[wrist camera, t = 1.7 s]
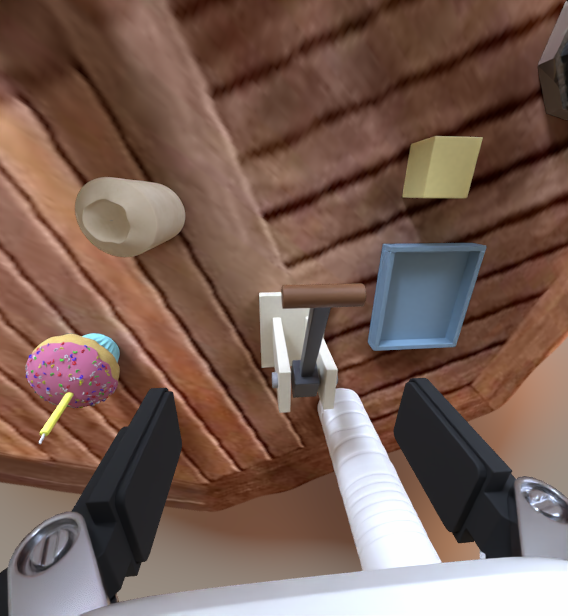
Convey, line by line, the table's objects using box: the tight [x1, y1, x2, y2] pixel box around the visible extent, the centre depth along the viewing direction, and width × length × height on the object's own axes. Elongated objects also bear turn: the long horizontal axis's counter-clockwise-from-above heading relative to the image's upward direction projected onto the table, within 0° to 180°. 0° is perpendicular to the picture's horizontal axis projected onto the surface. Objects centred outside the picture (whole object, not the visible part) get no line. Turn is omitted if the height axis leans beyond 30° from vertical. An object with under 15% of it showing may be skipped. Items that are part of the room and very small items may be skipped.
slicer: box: [259, 292, 338, 413], centre depth 28 cm, size 10×8×12 cm
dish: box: [368, 243, 487, 351], centre depth 32 cm, size 13×11×2 cm
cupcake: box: [26, 334, 120, 444], centre depth 27 cm, size 9×8×12 cm
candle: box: [75, 177, 185, 257], centre depth 22 cm, size 6×6×10 cm
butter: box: [402, 136, 483, 198], centre depth 26 cm, size 5×4×4 cm
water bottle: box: [318, 388, 442, 571], centre depth 28 cm, size 9×6×25 cm
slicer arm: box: [281, 283, 366, 398], centre depth 20 cm, size 13×5×2 cm, turn 0°
